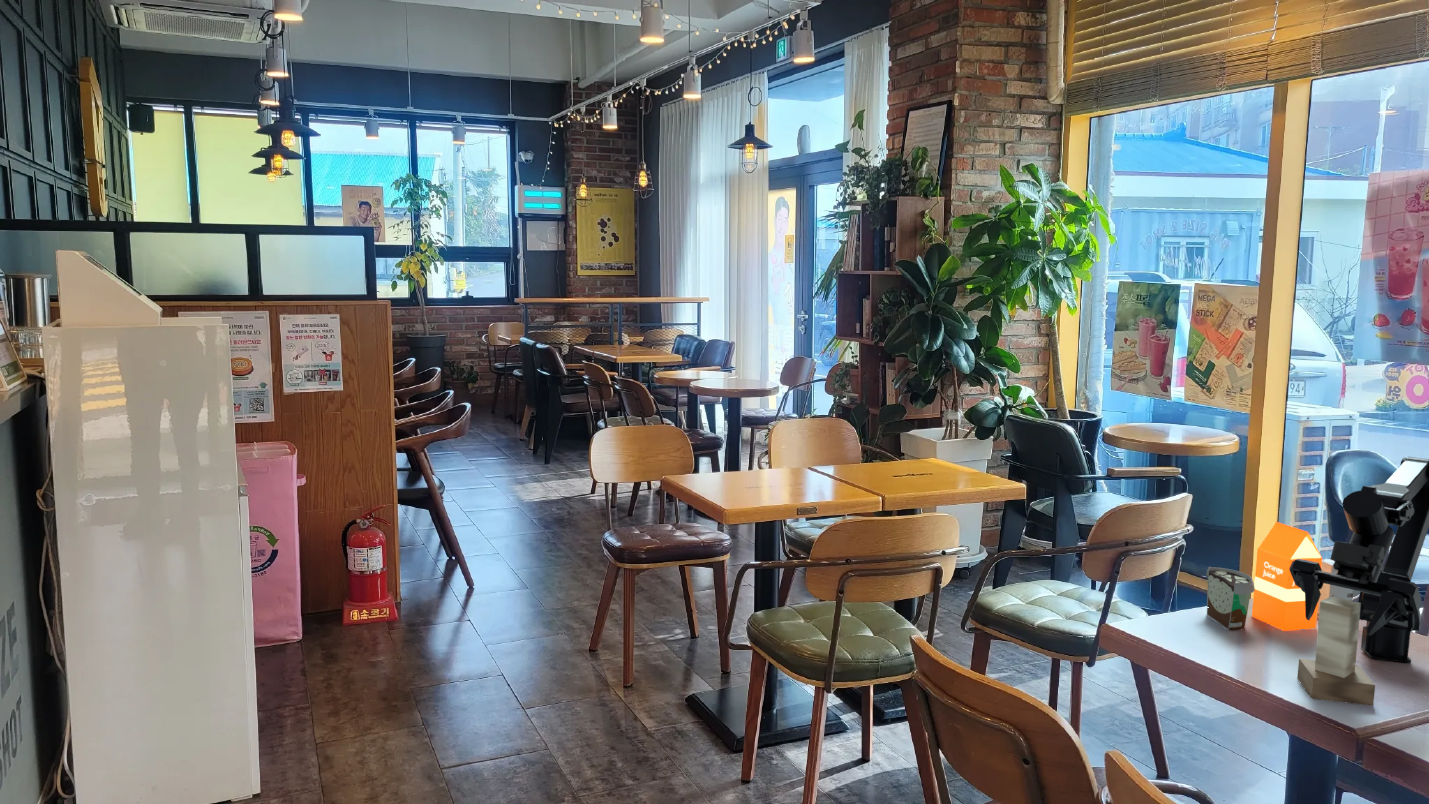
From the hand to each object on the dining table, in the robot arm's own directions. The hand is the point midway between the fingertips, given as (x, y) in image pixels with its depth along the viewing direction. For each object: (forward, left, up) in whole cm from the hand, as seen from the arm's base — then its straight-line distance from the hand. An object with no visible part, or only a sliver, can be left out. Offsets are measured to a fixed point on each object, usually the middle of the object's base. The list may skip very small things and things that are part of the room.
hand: (1337, 626), depth 168 cm
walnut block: (-1, -1, -12) cm, 12 cm away
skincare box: (-11, -43, -12) cm, 46 cm away
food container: (+9, -33, -12) cm, 36 cm away
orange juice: (-1, -37, -12) cm, 39 cm away
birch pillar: (-1, -1, -8) cm, 8 cm away
